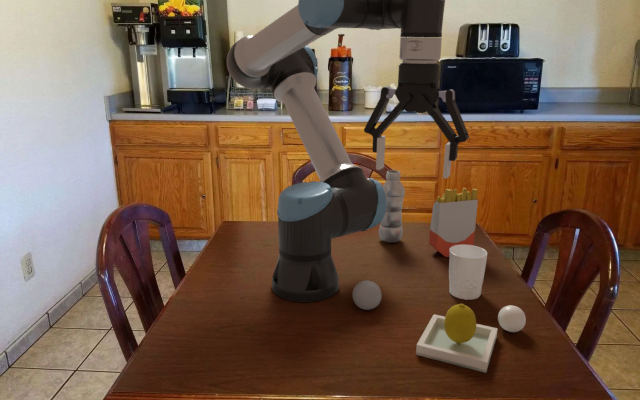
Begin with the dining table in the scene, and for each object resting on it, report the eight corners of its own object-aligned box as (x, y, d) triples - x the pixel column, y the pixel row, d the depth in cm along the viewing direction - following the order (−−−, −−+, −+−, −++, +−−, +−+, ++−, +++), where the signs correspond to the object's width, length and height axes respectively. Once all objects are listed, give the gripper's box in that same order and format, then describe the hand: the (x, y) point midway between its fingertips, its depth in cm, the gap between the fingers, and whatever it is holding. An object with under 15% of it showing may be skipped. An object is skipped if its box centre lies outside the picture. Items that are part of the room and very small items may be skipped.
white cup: (484, 303, 109) (489, 259, 106) (446, 299, 110) (450, 256, 107) (481, 286, 116) (485, 245, 113) (445, 283, 118) (448, 243, 115)
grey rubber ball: (347, 311, 105) (348, 284, 104) (358, 298, 110) (359, 273, 109) (375, 317, 103) (376, 290, 101) (385, 304, 108) (386, 278, 106)
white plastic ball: (494, 333, 97) (497, 309, 96) (498, 321, 101) (501, 298, 100) (522, 339, 95) (526, 315, 94) (525, 327, 99) (528, 304, 98)
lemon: (468, 335, 96) (472, 296, 93) (478, 352, 90) (482, 311, 88) (439, 335, 95) (442, 297, 93) (447, 352, 90) (450, 312, 88)
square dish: (415, 354, 90) (416, 344, 90) (433, 323, 101) (433, 314, 100) (486, 373, 85) (487, 362, 85) (496, 337, 96) (497, 328, 95)
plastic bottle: (374, 238, 145) (377, 170, 140) (396, 235, 147) (399, 168, 142) (384, 246, 140) (386, 175, 134) (406, 243, 142) (410, 173, 136)
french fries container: (427, 251, 136) (431, 186, 131) (463, 247, 139) (468, 183, 134) (436, 258, 132) (441, 191, 127) (473, 253, 135) (479, 187, 130)
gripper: (349, 60, 97) (347, 169, 104) (484, 64, 87) (472, 185, 93) (364, 59, 104) (361, 161, 110) (492, 63, 93) (480, 176, 99)
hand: (412, 172), depth 101 cm, fingers open, 13 cm apart
